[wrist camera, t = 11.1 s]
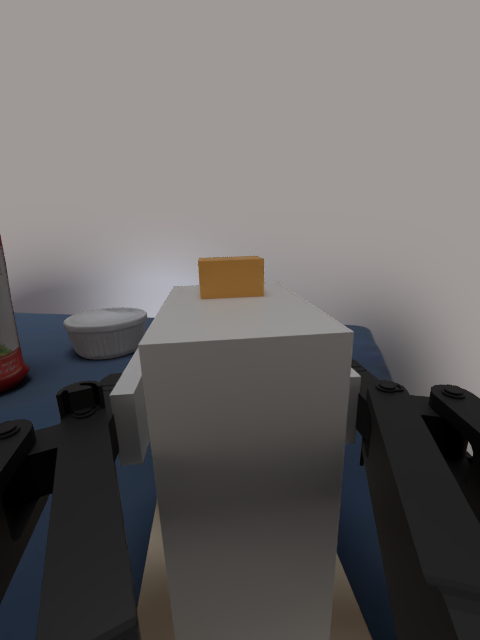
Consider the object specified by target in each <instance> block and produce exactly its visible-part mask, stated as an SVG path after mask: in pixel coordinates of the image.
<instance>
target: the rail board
mask: <svg viewBox="0 0 480 640" xmlns="http://www.w3.org/2000/svg"><path fill="white" fill-rule="evenodd" d="M137 614H138V621H139V627H140V634H141V640H175V636H174V628H173V620H172V612H171V604H170V596H169V588H168V580H167V572H166V564H165V556H164V548H163V540H162V532H161V524H160V516H159V508H158V500H157V503H156V509H155V514H154V520H153V525H152V531H151V536H150V542H149V547H148V552H147V558H146V563H145V569H144V574H143V580H142V585H141V591H140V596H139V602H138V607H137ZM330 640H372V638H371V635H370V633H369V630H368V628H367V625H366V623H365V621H364V618H363V616H362V613H361V611H360V608H359V606H358V603H357V601H356V599H355V596H354V594H353V591H352V589H351V586H350V584H349V582H348V579H347V577H346V574H345V572H344V569H343V567H342V565H341V562H340V560H339V557H338V555H337V552H336V565H335V578H334V591H333V603H332V616H331V629H330Z"/></svg>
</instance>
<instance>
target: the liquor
mask: <svg viewBox="0 0 480 640" xmlns="http://www.w3.org/2000/svg"><path fill="white" fill-rule="evenodd" d="M29 370H30V367H29V366H28V365H27V364H25V363H24V362H23V357H22V352H21V348H20V343H19V338H18V333H17V328H16V322H15V317H14V312H13V306H12V301H11V295H10V288H9V282H8V275H7V269H6V262H5V257H4V252H3V246H2V242H1V236H0V393H2V392H5V391H8V390H10V389H12V388H14V387H16V386H17V385H18V384H19V383H20V382H21V381H22V379H23V378H24V377H25V376H26V374H27V373H28V372H29Z"/></svg>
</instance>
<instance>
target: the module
mask: <svg viewBox="0 0 480 640" xmlns="http://www.w3.org/2000/svg"><path fill="white" fill-rule="evenodd" d="M198 266H199V281H200V285H196V286H175V287H173V289H172V291H171V292H170V294H169V296H168V297H167V299H166V301H165V302H164V304H163V305H162V307H161V309H160V310H159V312H158V314H157V315H156V317H155V318H154V320H153V322H152V323H151V325H150V327H149V328H148V330H147V331H146V333H145V335H144V336H143V338H142V340H141V341H140V343H139V344H138V348H139V356H140V364H141V372H142V380H143V388H144V396H145V404H146V412H147V420H148V428H149V436H150V444H151V452H152V460H153V468H154V476H155V484H156V492H157V500H158V508H159V516H160V524H161V532H162V540H163V548H164V556H165V564H166V572H167V580H168V588H169V596H170V604H171V612H172V620H173V628H174V636H175V640H330V629H331V616H332V603H333V591H334V578H335V565H336V552H337V540H338V527H339V514H340V501H341V489H342V476H343V463H344V451H345V438H346V425H347V412H348V400H349V387H350V374H351V361H352V349H353V336H354V332H353V331H352V330H350V329H349V328H347V327H346V326H344V325H343V324H341V323H339V322H338V321H336V320H335V319H333V318H332V317H330V316H329V315H327V314H326V313H324V312H323V311H321V310H320V309H318V308H317V307H315V306H314V305H312V304H311V303H309V302H308V301H306V300H305V299H303V298H301V297H300V296H299V295H297V294H295V293H294V292H292V291H291V290H289V289H288V288H286V287H285V286H283V285H282V284H280V283H279V282H265V283H264V259H263V258H260V257H258V256H243V257H214V258H199V260H198Z"/></svg>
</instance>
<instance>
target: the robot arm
mask: <svg viewBox="0 0 480 640" xmlns="http://www.w3.org/2000/svg"><path fill="white" fill-rule="evenodd" d="M56 397H57V402H58V407H59V412H60V416H61V423H60V424H58V425H55V426H52V427H48V428H44V429H40V430H36V431H34V428H33V424H32V423H31V421H28V420H25V419H24V420H13V421H7V422H3V424H2V423H1V424H0V603H1V601H2V599H3V597H4V594H5V592H6V590H7V588H8V586H9V583H10V581H11V579H12V577H13V575H14V572H15V570H16V568H17V566H18V564H19V561H20V559H21V557H22V555H23V553H24V550H25V548H26V546H27V544H28V542H29V539H30V537H31V535H32V533H33V531H34V528H35V526H36V524H37V522H38V520H39V517H40V515H41V513H42V511H43V509H44V506H45V504H46V502H47V500H48V496H49V494H52V493H53V494H52V503H51V512H50V520H49V529H48V538H47V547H46V556H45V565H44V574H43V582H42V591H41V600H40V609H39V618H38V627H37V636H36V640H141V634H140V627H139V621H138V614H137V607H136V600H135V594H134V587H133V580H132V574H131V567H130V560H129V554H128V547H127V540H126V533H125V527H124V520H123V513H122V507H121V500H120V493H119V487H118V480H117V473H116V467H115V460H116V457H117V455H118V453H119V459H120V465H121V466H123V465H133V464H143V461H144V458H145V454H146V450H147V447H148V443H149V440H150V436H149V428H148V420H147V412H146V404H145V396H144V388H143V380H142V372H141V364H140V356H139V348H138V349H137V350H136V352H135V354H134V355H133V357H132V359H131V360H130V362H129V364H128V365H127V367H126V369H125V370H124V372H123V373H118V374H110V375H108V376H107V377H105V378H104V379H102V380H101V382H100V383H99V382H96V381H83V382H78V383H74V384H71V385H69V386H66V387H64V388H63V389H61V390H60V391H59V392H58V393H57V395H56ZM356 429H357V430H358V431H359V433H360V434H361V435H362V436H363V437H362V448H361V458H360V465H361V466H363V463H364V464H365V469H366V475H367V480H368V485H369V491H370V496H371V501H372V507H373V512H374V518H375V523H376V528H377V534H378V539H379V544H380V550H381V555H382V560H383V566H384V571H385V577H386V582H387V587H388V593H389V598H390V603H391V609H392V614H393V619H394V625H395V630H396V636H397V640H480V398H478V397H477V396H475V395H474V394H472V393H470V392H469V391H467V390H465V389H462V388H460V387H458V386H452V385H435V386H433V387H431V392H430V397H424V396H413V395H409V393H408V391H407V390H406V389H405V388H404V387H403V386H401V385H400V384H398V383H394V382H391V381H386V380H378V379H377V378H376V377H374V376H373V375H372V374H371V373H370V372H368V371H367V370H366V369H365V368H364V367H362V366H361V365H360V364H359V363H358V362H357V361H355V360H352V361H351V374H350V387H349V400H348V412H347V425H346V438H345V444H349V443H355V439H356ZM468 441H469V443H470V444H471V447H472V450H473V456H471V455H470V454H469V453H468V452H467V451H466V450H467V445H468Z"/></svg>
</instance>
